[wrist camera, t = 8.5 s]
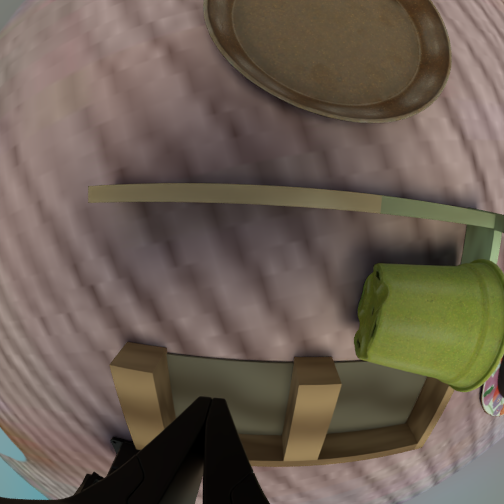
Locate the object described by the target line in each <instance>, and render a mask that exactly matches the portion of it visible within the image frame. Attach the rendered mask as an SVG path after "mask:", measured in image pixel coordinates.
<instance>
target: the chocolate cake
mask: <svg viewBox="0 0 504 504" xmlns="http://www.w3.org/2000/svg"><path fill="white" fill-rule="evenodd" d="M481 404H482V408H483V410H485V411H484V412H486V413H487V414H490V415H492V416H497V415H498V416H501V415H504V355H503V357H502V358H501V361H500V363H499V365H498V367H497V368H496V370H495V371H494V373H493V374H492V375H491V376H490V378H489V379H488V380H487V381H486V382H485V383H484V384H483V390H482V395H481Z"/></svg>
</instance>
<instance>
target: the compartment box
mask: <svg viewBox="0 0 504 504" xmlns="http://www.w3.org/2000/svg"><path fill="white" fill-rule="evenodd" d="M97 202H204V203H236V204H259V205H279V206H295V207H310V208H324V209H337V210H349V211H360V212H370V213H380V214H390V215H399V216H408V217H416V218H425V219H432V220H440V221H447V222H455V223H462V224H467V229H466V236H465V243H464V249H463V255H462V261H461V264H464V263H470V262H472V261H474V260H477V259H486V260H490V261H492V262H494V263H495V264H496V265H497V260H498V254H499V249H500V242H501V236H502V233H504V215H502V214H497V213H493V212H488V211H483V210H478V209H473V208H468V209H467V208H461V207H456V206H450V205H444V204H438V203H432V202H426V201H419V200H412V199H405V198H398V197H391V196H383V195H374V194H366V193H357V192H347V191H337V190H326V189H314V188H301V187H286V186H268V185H247V184H212V183H152V184H118V185H100V186H88V203H97ZM110 369H111V373H112V377H113V380H114V384H115V388H116V391H117V394H118V398H119V401H120V404H121V407H122V411H123V414H124V417H125V420H126V423H127V426H128V428H129V431H130V434H131V437H132V439H133V442H134V445H135V447H136V449H138V450H142V449H143V448H144V447H145V446H146V445H147V444H148V443H149V442H151V441H152V440H153V439H154V438H155V437H156V436H157V435H158V434H159V433H161V432H162V431H163V430H164V429H165V428H166V427H167V426H168V425H169V424H170V423H171V422H173V421H174V420H175V419H176V418H177V417H178V416H179V415H180V414H181V413H182V412H183V411H184V410H185V409H186V408H187V407H188V406H190V405H191V404H192V403H193V402H194V401H195V400H196V399H197V398H198V397H199V396H207V397H211V398H212V399H213V398H214V397H217V398H225V399H226V402H227V404H228V407H229V410H230V413H231V416H232V418H233V421H234V424H235V426H236V429H237V432H238V434H239V437H240V439H241V442H242V445H243V447H244V450H245V452H246V455H247V457H248V460H249V462H250V464H251V466H265V467H289V466H313V465H326V464H336V463H345V462H353V461H360V460H366V459H372V458H378V457H383V456H388V455H393V454H397V453H402V452H406V451H410V450H414V449H418V448H422V446H423V445H424V443H425V442H426V440H427V438H428V437H429V435H430V434H431V432H432V430H433V429H434V427H435V425H436V423H437V422H438V420H439V418H440V416H441V415H442V413H443V411H444V409H445V407H446V405H447V403H448V402H449V400H450V398H451V396H452V394H453V392H454V389H452V388H451V387H450V386H449V385H448V384H446V383H443V382H441V381H440V380H438V379H436V378H432V377H428V376H423V375H419V374H415V373H411V372H407V371H403V370H399V369H395V368H391V367H387V366H383V365H379V364H375V363H371V362H368V361H343V362H334V361H333V359H332V357H294V362H269V361H247V360H231V359H218V358H207V357H197V356H188V355H179V354H171V353H167V348H164V347H157V346H150V345H143V344H137V343H131V342H127V343H126V344H125V345H124V347H123V348H122V349H121V351H120V352H119V353H118V355H117V356H116V357H115V358H114V360H113V361H112V362H111V364H110ZM426 377H427V379H426ZM425 380H426V381H425ZM424 382H425V383H424ZM423 385H424V386H423ZM422 387H423V388H422ZM421 389H422V390H421ZM420 391H421V393H420ZM419 394H420V395H419ZM418 396H419V397H418ZM417 398H418V399H417ZM416 400H417V401H416ZM415 402H416V404H415ZM414 405H415V406H414ZM413 407H414V408H413ZM412 409H413V410H412ZM411 411H412V412H411ZM410 413H411V414H410ZM409 415H410V416H409ZM408 417H409V418H408ZM407 419H408V420H407ZM406 421H407V422H406Z"/></svg>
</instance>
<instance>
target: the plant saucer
mask: <svg viewBox="0 0 504 504" xmlns="http://www.w3.org/2000/svg"><path fill="white" fill-rule="evenodd" d="M203 10H204V18H205V22H206V26H207V29H208V31H209V34H210V36H211V38H212V40H213V42H214V43H215V45H216V46H217V48H218V49H219V51H220V52H221V53H222V55H223V56H224V57H225V58H226V59H227V60H228V62H230V63H231V64H232V65H233V66H234V67H235V68H236V69H237V70H238V71H239V72H240V73H241V74H243V75H244V76H245V77H246V78H247V79H249V80H250V81H252V82H253V83H254V84H256V85H257V86H259V87H260V88H262V89H263V90H265V91H267V92H269V93H270V94H272V95H274V96H276V97H277V98H279V99H281V100H283V101H285V102H288V103H290V104H292V105H294V106H296V107H299V108H301V109H304V110H307V111H310V112H312V113H315V114H319V115H322V116H326V117H329V118H334V119H339V120H344V121H351V122H360V123H383V122H392V121H397V120H401V119H405V118H408V117H411V116H413V115H415V114H417V113H419V112H421V111H423V110H424V109H426V108H427V107H429V106H430V105H431V104H432V103H433V102H434V101H435V100H436V99H437V98H438V97H439V95H440V94H441V92H442V91H443V89H444V87H445V85H446V83H447V81H448V78H449V74H450V70H451V45H450V40H449V36H448V33H447V30H446V27H445V25H444V22H443V20H442V18H441V16H440V14H439V12H438V11H437V9H436V7H435V6H434V4H433V3H432V1H431V0H204V4H203Z"/></svg>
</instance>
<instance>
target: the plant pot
mask: <svg viewBox="0 0 504 504" xmlns="http://www.w3.org/2000/svg"><path fill="white" fill-rule="evenodd" d="M358 318H359V322H360V326H359V330H358V331H357V332H356V334H355V337H354V345H355V351H356V355H357V357H358V358H359V359H361V360H364V361H368V362H371V363H375V364H379V365H383V366H387V367H391V368H395V369H399V370H403V371H407V372H411V373H415V374H419V375H423V376H428V377H432V378H436V379H438V380H440V381H441V382H443V383H446V384H448V385H449V386H450V387H451V388H452V389H454V390H456V391H460V392H469V391H472V390H475V389H476V388H478V387H480V386H481V385H483V384H484V383H485V382H486V381H487V380H488V379H489V378H490V376H491V375H492V374H493V373H494V371H495V370H496V368H497V367H498V365H499V363H500V361H501V358H502V357H503V355H504V274H503V272H502V270H501V269H500V268H499V267H498V266H497V265H496V264H495V263H494V262H492V261H490V260H486V259H477V260H474V261H472V262H470V263H464V264H461V265H458V266H433V265H408V264H384V263H377V264H375V265H374V268H373V273H372V274H370V275H369V276H368V277H367V279H366V281H365V284H364V286H363V292H362V296H361V300H360V302H359V306H358Z"/></svg>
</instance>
